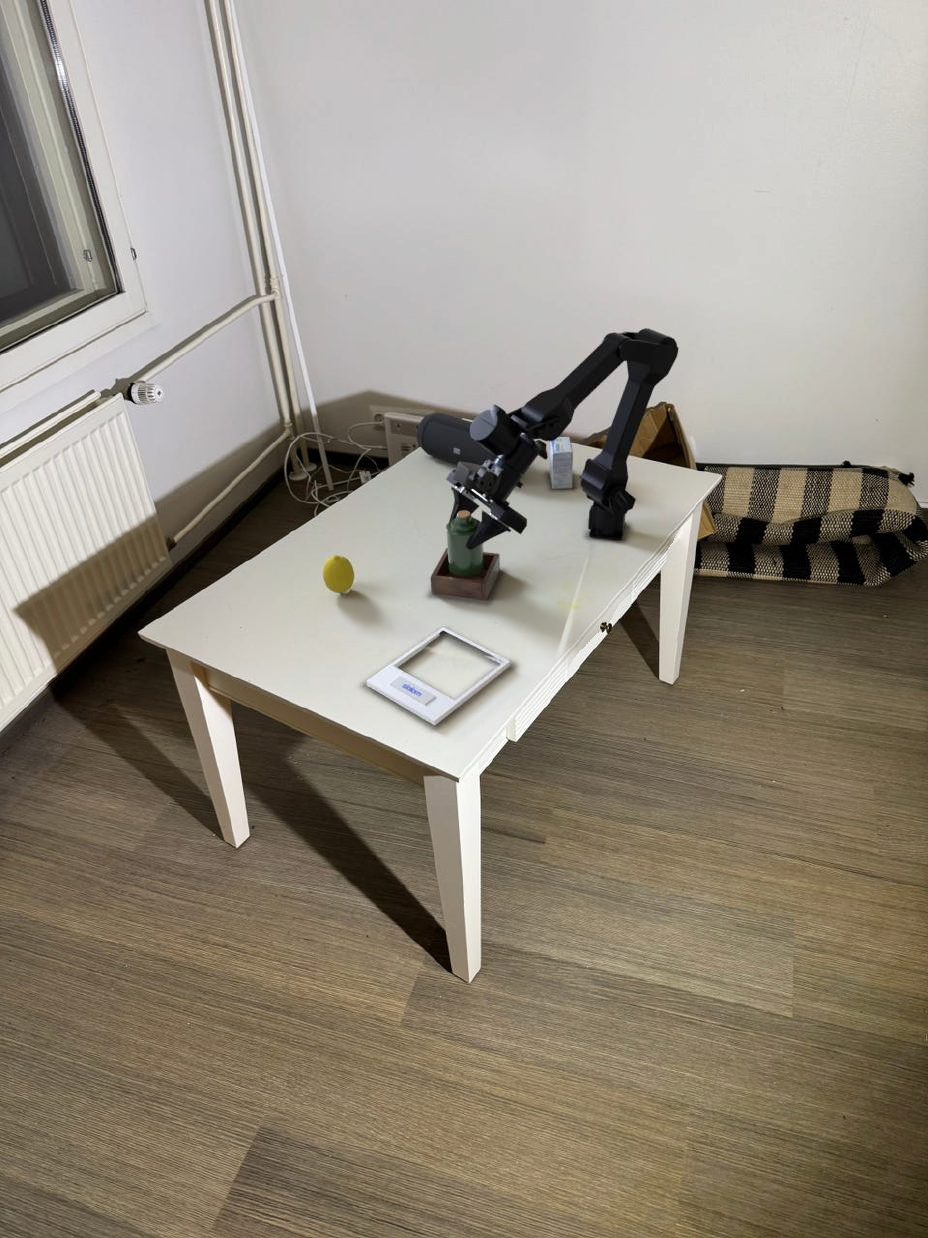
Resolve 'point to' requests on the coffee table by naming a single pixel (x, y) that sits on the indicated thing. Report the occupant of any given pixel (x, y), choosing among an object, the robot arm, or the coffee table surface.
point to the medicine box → (561, 463)
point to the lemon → (338, 574)
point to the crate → (465, 579)
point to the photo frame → (421, 695)
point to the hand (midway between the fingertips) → (458, 540)
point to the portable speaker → (451, 440)
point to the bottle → (463, 546)
